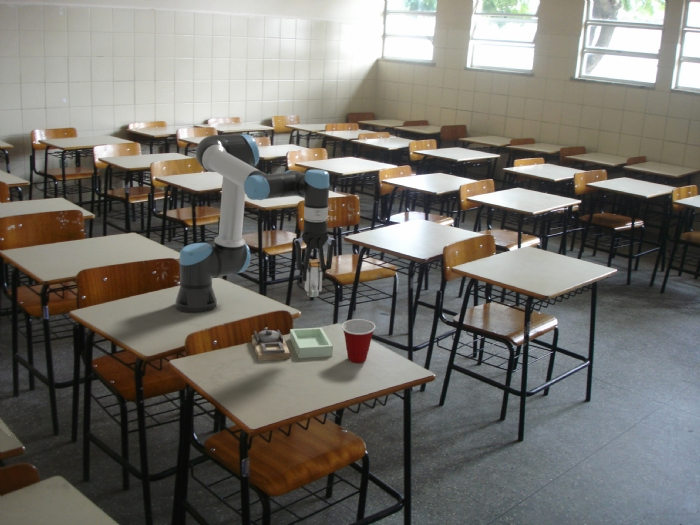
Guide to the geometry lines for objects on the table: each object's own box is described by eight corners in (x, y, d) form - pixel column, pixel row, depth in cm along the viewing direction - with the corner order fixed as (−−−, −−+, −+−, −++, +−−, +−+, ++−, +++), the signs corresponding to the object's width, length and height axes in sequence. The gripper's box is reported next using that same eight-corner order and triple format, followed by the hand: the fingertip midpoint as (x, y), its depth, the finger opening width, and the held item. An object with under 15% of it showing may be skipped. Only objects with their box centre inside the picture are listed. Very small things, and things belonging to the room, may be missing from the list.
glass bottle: (306, 293, 231) (307, 260, 228) (317, 293, 232) (318, 260, 229) (308, 297, 228) (309, 263, 224) (319, 296, 229) (320, 263, 225)
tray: (289, 338, 241) (290, 329, 240) (321, 337, 244) (321, 327, 243) (299, 358, 226) (299, 348, 225) (332, 356, 229) (332, 346, 228)
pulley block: (251, 340, 237) (251, 327, 236) (281, 339, 240) (281, 325, 239) (258, 360, 223) (258, 346, 221) (289, 358, 225) (290, 344, 224)
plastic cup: (332, 360, 226) (334, 325, 223) (352, 350, 235) (354, 316, 231) (360, 370, 220) (363, 334, 217) (379, 359, 229) (382, 324, 225)
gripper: (291, 222, 217) (289, 294, 224) (344, 222, 221) (340, 292, 228) (287, 217, 224) (285, 287, 230) (338, 216, 228) (335, 285, 235)
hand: (313, 289), depth 229 cm, fingers closed on glass bottle, 3 cm apart
